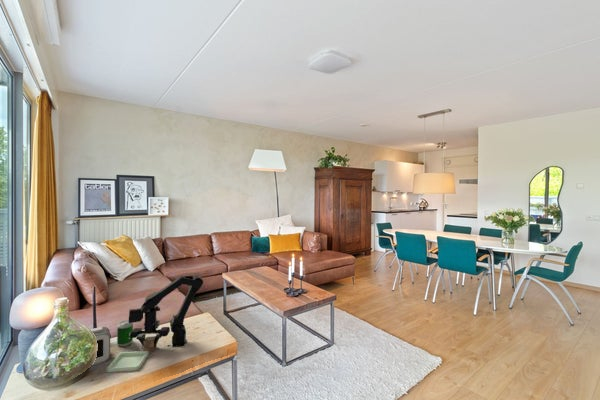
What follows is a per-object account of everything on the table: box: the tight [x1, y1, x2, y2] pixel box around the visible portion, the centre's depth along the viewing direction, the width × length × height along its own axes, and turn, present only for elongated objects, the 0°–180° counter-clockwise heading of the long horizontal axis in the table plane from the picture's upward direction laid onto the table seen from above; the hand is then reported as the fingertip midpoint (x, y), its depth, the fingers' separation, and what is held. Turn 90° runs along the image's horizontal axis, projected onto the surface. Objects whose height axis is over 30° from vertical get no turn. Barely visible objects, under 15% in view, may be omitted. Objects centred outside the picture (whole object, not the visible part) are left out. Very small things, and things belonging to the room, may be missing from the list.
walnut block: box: [142, 335, 158, 353], centre depth 155 cm, size 5×5×6 cm
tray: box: [105, 350, 150, 373], centre depth 142 cm, size 14×14×2 cm
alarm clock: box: [89, 326, 111, 366], centre depth 144 cm, size 16×11×16 cm
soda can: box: [116, 319, 134, 347], centre depth 160 cm, size 8×8×12 cm
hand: (150, 347), depth 155 cm, fingers closed on walnut block, 5 cm apart
